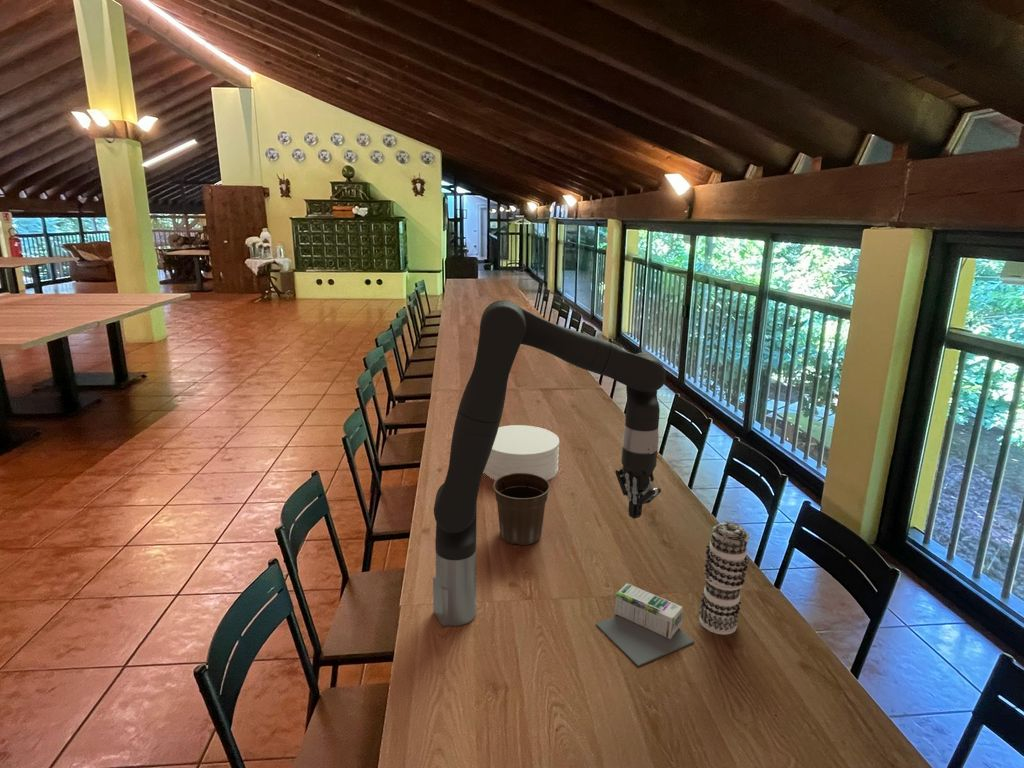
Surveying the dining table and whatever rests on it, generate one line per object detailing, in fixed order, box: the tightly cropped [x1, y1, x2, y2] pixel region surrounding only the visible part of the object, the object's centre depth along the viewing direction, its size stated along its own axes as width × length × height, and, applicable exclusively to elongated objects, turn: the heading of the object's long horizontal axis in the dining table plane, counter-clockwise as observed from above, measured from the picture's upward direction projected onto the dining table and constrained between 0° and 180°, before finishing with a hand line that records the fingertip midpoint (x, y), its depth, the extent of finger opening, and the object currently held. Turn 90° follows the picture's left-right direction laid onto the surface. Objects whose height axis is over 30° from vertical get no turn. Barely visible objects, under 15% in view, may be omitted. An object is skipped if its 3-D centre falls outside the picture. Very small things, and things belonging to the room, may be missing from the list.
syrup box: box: [614, 583, 684, 639], centre depth 143 cm, size 6×6×14 cm
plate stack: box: [483, 424, 560, 481], centre depth 223 cm, size 28×28×12 cm
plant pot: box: [492, 473, 551, 546], centre depth 178 cm, size 16×16×16 cm
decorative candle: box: [698, 521, 751, 636], centre depth 141 cm, size 9×9×25 cm
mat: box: [595, 614, 695, 668], centre depth 140 cm, size 16×15×1 cm
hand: (634, 516), depth 138 cm, fingers closed
